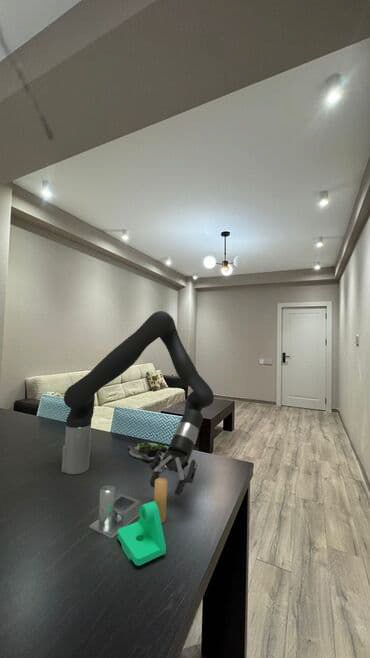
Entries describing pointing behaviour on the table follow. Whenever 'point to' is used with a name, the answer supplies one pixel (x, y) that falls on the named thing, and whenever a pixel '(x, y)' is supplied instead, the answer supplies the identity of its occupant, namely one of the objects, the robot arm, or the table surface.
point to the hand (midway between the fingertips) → (164, 490)
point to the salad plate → (147, 450)
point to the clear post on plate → (115, 511)
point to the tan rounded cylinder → (161, 497)
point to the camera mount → (143, 536)
